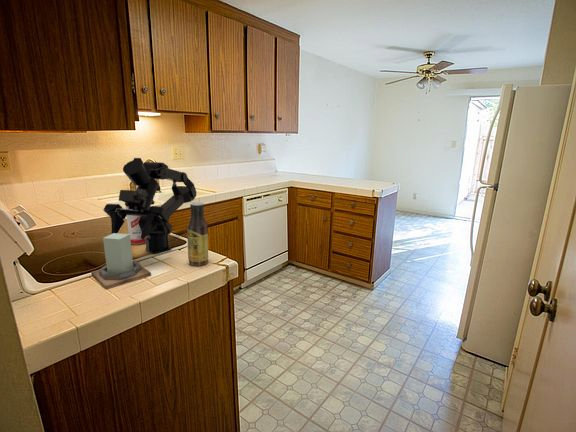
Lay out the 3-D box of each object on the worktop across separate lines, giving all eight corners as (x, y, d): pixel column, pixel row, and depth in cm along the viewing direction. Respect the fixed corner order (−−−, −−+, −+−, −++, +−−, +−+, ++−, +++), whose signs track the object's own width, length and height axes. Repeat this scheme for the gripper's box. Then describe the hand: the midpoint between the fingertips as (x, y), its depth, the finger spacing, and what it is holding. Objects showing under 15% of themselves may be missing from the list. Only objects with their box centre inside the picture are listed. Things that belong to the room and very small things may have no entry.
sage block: (117, 268, 93) (113, 233, 90) (133, 269, 92) (129, 234, 90) (107, 274, 89) (102, 238, 86) (124, 276, 88) (119, 239, 85)
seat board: (134, 263, 99) (134, 260, 99) (151, 275, 91) (150, 272, 91) (91, 274, 90) (91, 271, 90) (106, 289, 83) (105, 285, 82)
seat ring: (132, 262, 97) (131, 257, 97) (145, 272, 91) (145, 267, 90) (96, 271, 90) (95, 267, 90) (108, 283, 84) (107, 278, 83)
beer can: (150, 242, 118) (146, 201, 113) (133, 246, 113) (128, 203, 109) (143, 238, 122) (140, 198, 118) (126, 242, 117) (122, 200, 113)
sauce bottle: (184, 262, 101) (181, 202, 96) (201, 257, 105) (199, 200, 100) (195, 269, 96) (192, 206, 91) (213, 263, 101) (210, 203, 96)
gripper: (103, 177, 95) (81, 222, 87) (162, 180, 93) (144, 226, 85) (122, 198, 104) (103, 240, 96) (176, 201, 102) (161, 244, 94)
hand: (127, 237), depth 93 cm, fingers open, 9 cm apart
